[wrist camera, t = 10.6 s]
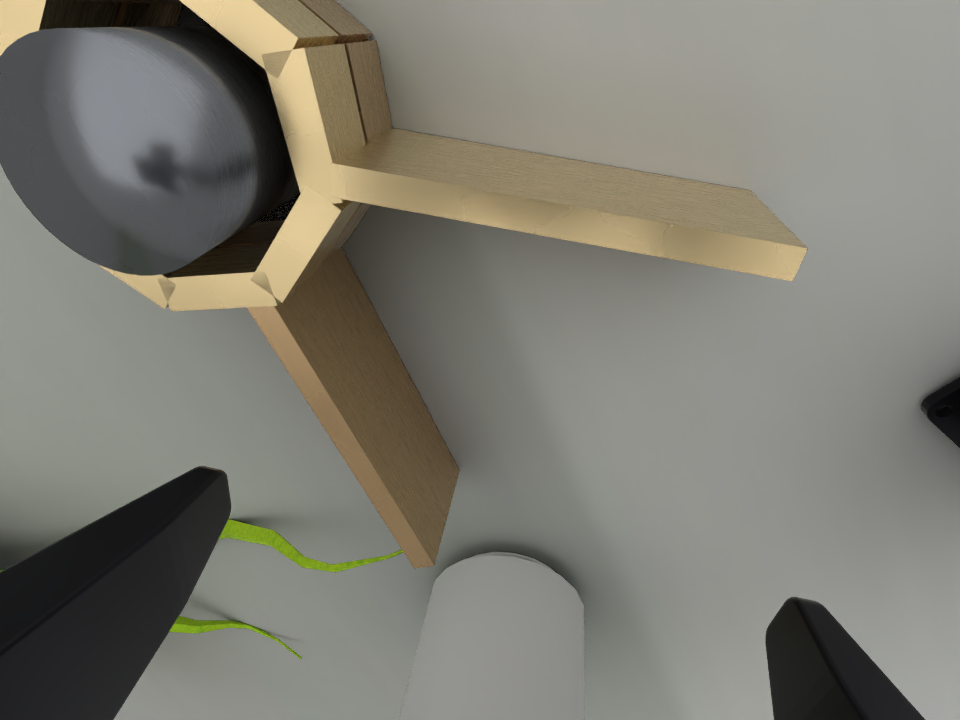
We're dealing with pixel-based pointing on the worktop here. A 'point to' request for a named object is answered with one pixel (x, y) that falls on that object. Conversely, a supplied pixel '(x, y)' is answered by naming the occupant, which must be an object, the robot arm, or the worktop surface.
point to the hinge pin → (141, 141)
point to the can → (499, 644)
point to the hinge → (406, 186)
